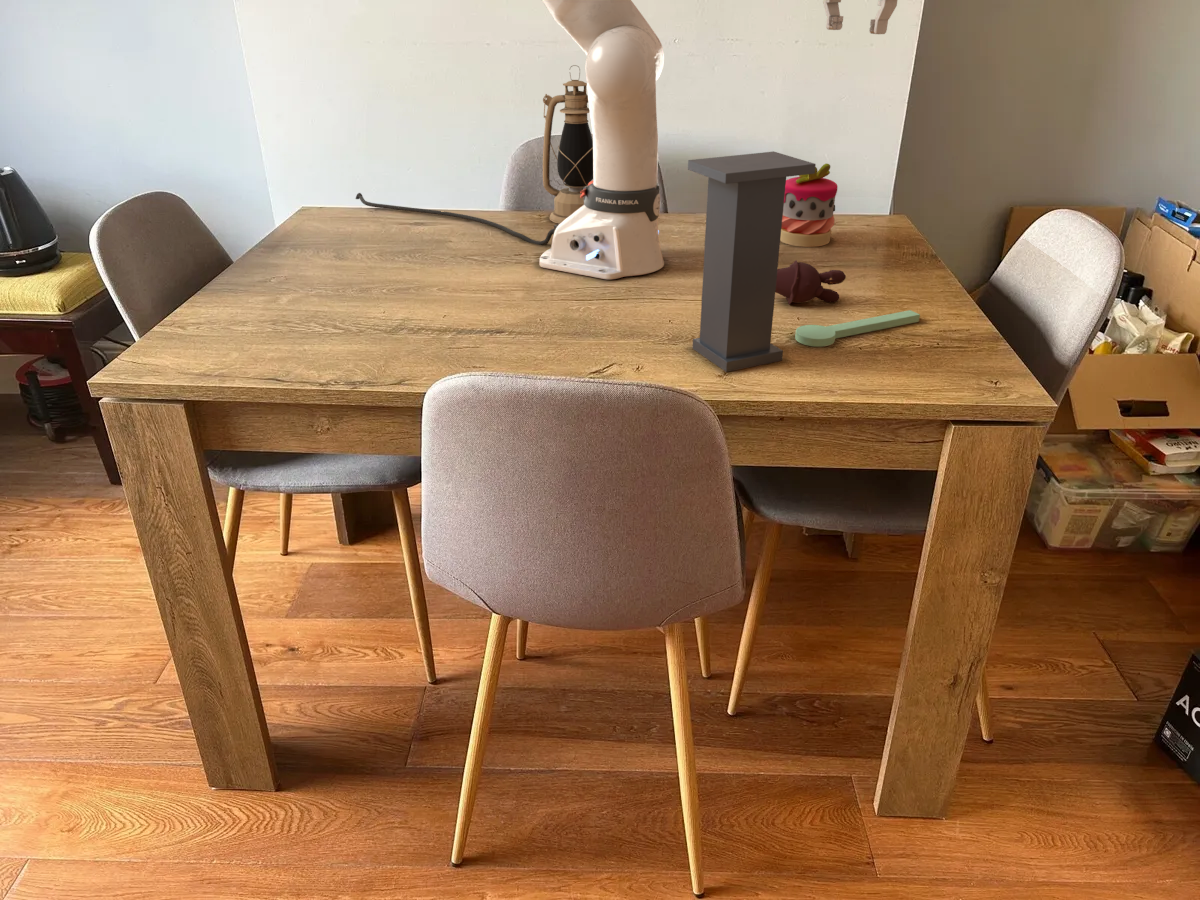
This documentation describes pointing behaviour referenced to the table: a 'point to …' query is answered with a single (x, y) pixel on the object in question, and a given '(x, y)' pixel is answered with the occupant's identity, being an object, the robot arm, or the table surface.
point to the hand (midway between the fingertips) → (855, 31)
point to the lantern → (569, 150)
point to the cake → (809, 209)
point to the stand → (742, 255)
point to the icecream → (807, 283)
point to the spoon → (851, 328)
